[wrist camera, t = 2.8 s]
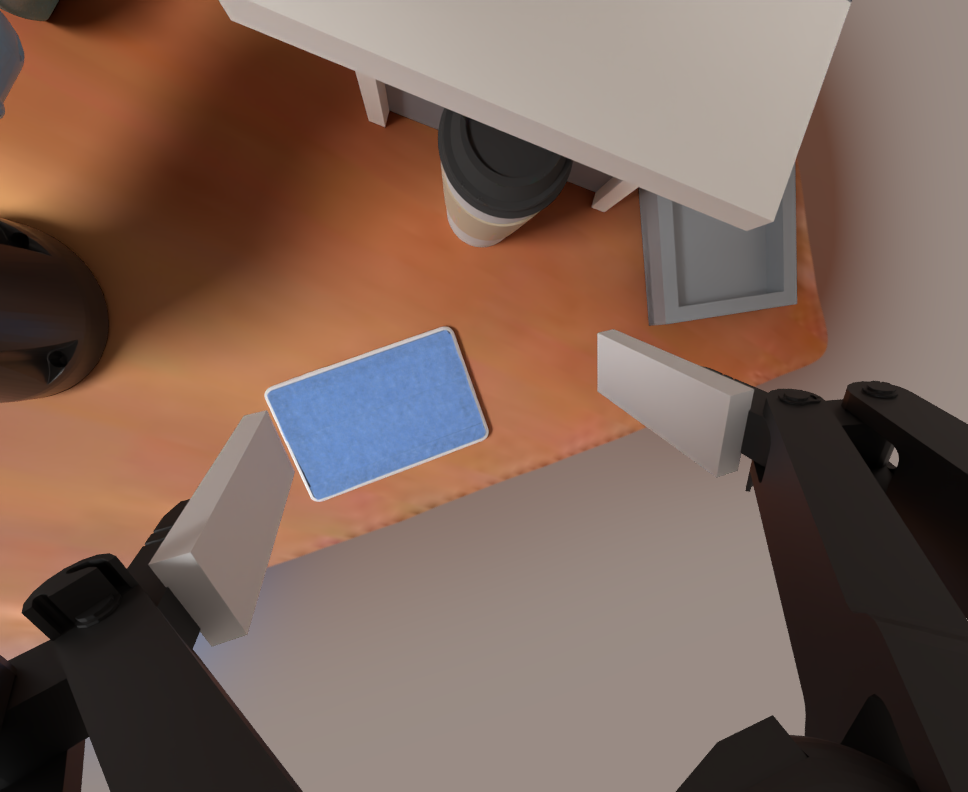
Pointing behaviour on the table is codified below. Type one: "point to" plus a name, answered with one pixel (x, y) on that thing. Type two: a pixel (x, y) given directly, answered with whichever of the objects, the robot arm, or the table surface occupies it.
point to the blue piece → (378, 413)
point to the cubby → (595, 82)
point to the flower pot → (29, 8)
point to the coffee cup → (494, 179)
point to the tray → (715, 261)
